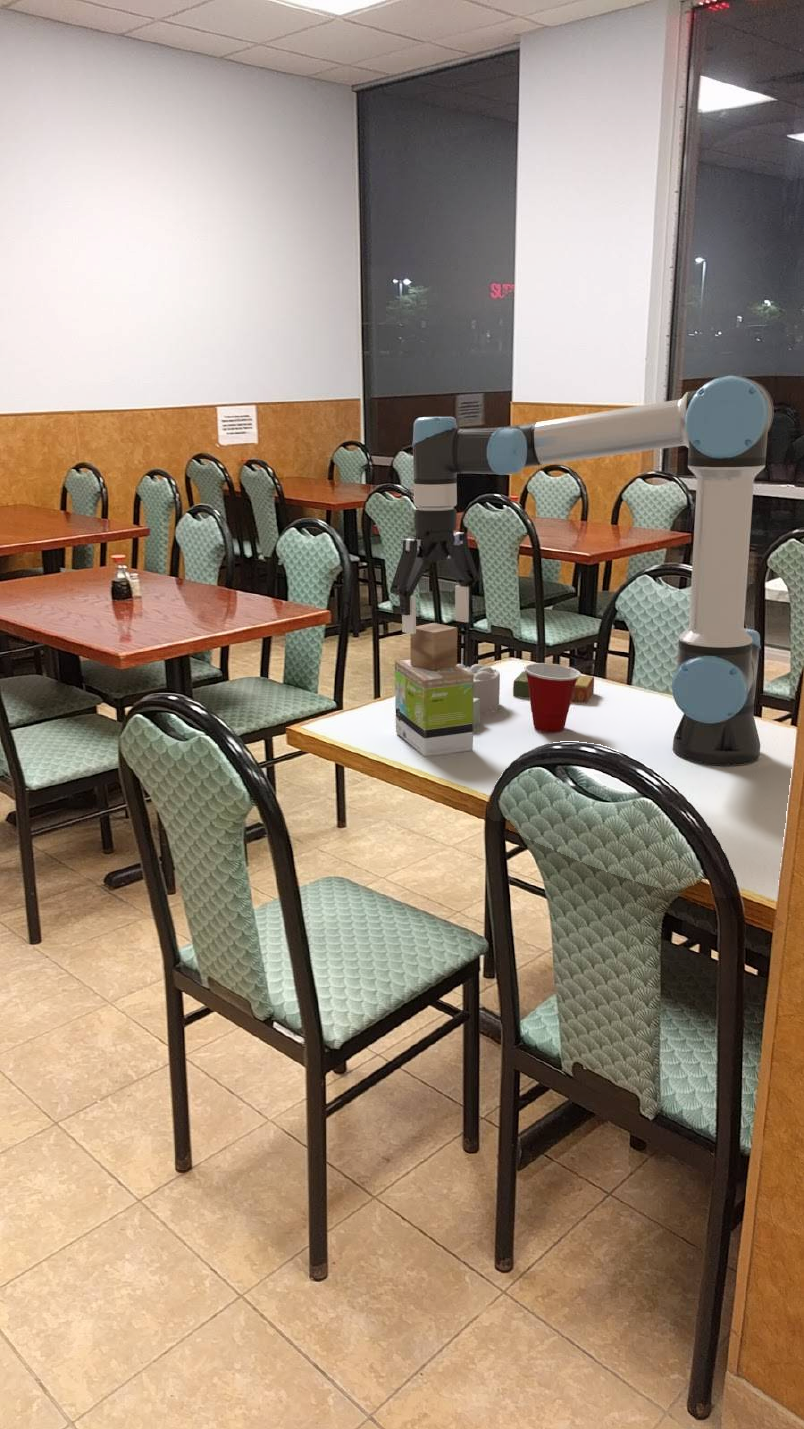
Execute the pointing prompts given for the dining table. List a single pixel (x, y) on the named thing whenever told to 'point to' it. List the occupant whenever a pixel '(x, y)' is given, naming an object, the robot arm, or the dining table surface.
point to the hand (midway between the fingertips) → (436, 627)
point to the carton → (580, 692)
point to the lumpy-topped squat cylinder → (485, 687)
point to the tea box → (434, 708)
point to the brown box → (434, 646)
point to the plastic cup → (550, 694)
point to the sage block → (476, 710)
